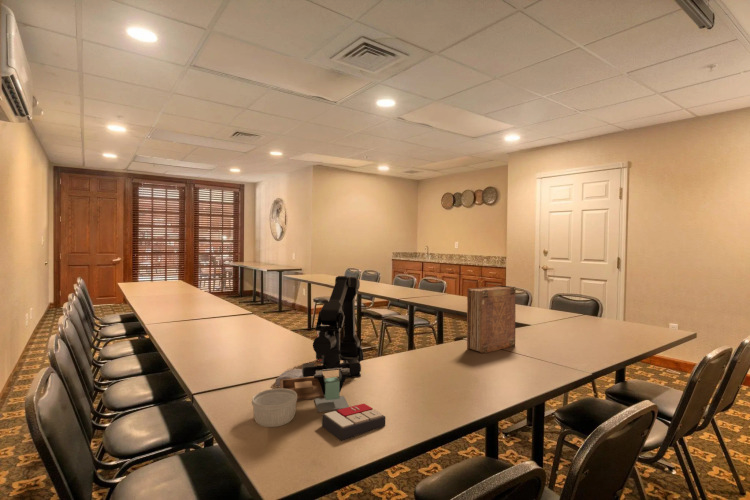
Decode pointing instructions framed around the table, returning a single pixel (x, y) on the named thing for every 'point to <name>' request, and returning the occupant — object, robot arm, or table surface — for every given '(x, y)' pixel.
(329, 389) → the teal block
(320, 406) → the pad
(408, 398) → the table surface
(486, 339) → the book
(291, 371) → the stone block
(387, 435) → the table surface
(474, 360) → the table surface
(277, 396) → the ramekin
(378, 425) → the calculator
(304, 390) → the caddy
